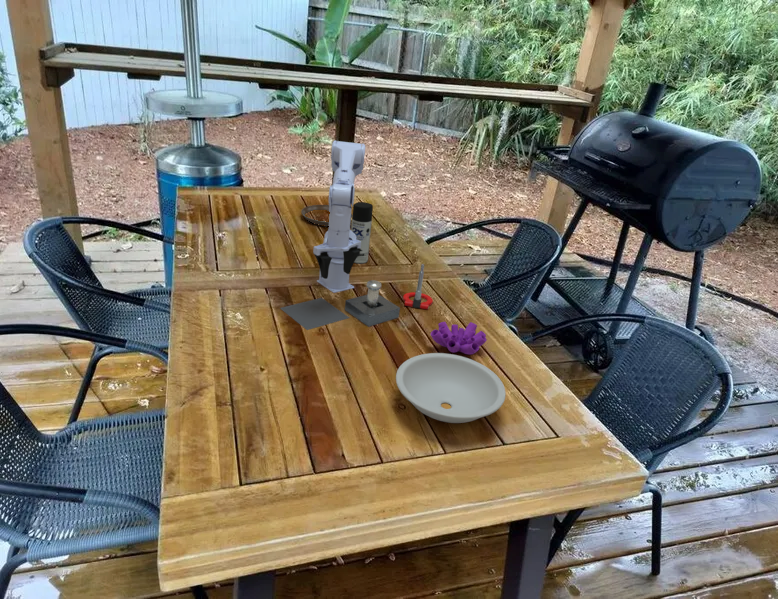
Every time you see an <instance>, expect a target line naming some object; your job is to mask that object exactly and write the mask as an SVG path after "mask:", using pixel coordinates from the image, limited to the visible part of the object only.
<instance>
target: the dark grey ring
mask: <svg viewBox="0 0 778 599" xmlns="http://www.w3.org/2000/svg"><path fill="white" fill-rule="evenodd" d="M313 210H327V211H329V204H314V205H313V204H312V205H309V206H305V207H303V208H302V209H301V215H302V216H303V218H304V219H305V220H306V221H307V220H308V221H307V222H309V221H310V222H312V223H315V224H319V225H325V226H324V227H327V226H329V222H325V221H318V220H314V219H311V218H308V217H306V216H305V214H306V213H308V212H310V211H313ZM352 216H353V212H351V219H352ZM310 222H309V223H310ZM312 223H311V224H312ZM315 224H314V225H315ZM319 225H318V226H319Z"/></svg>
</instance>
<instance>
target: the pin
mask: <svg viewBox="0 0 778 599" xmlns="http://www.w3.org/2000/svg"><path fill="white" fill-rule="evenodd" d="M366 288H367V295H368V296H367V305H366V306H368V307H369V308H371V309H373V308H377V303H378V294H379V293H380V290H381V288H382V283H381V282H380V281H378V280H374V279H373V280H371V279H369V280H368V281H366ZM379 295H380V294H379Z"/></svg>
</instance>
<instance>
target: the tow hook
mask: <svg viewBox="0 0 778 599" xmlns="http://www.w3.org/2000/svg"><path fill="white" fill-rule="evenodd" d="M424 269H425V264H424V263H421V265H420V270H419V273H418V279H417V286H416V290H415V291H411V292H406V293H404V294H403V297H402V300H403V301H404V307H411V308H412V309H413V308H414V309H419V310H420V309H422V310H429V307H430V306H431V305H432V304H433V302H434V299H433V298H432V297H431V296H430V295H428V294H426V293H423V292H422V286H423V281H424V275H425V274H424V273H425V270H424ZM412 297H413V300H412V299H410V298H412ZM422 299H424V300H426V301H423V302H422Z"/></svg>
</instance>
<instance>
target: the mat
mask: <svg viewBox="0 0 778 599" xmlns="http://www.w3.org/2000/svg"><path fill="white" fill-rule="evenodd" d="M279 309H280V310H281V311H283V312H284V313H285V314H286V315H288V316H289V317H290V318H291V319H292V320H294V321H295V322H296V323H297V324H299V325H300V326H301V327H303V328H304V329H305V330H306V331H308V330H313V329H316V328H320V327H323V326H327V325H329V324H333V323H337V322H340V321H343V320H347V319H348V320H349V319H350V316H348V315H347V314H345V313H344V312H342V311H341V310H340V309H338V308H337V307H335V306H334V305H332V304H331V303H330V302H329V301H327V300H326V299H325V298H324V297H320V298H315V299H310V300H307V301H303V302H299V303H295V304H291V305H286V306H282V307H280V308H279Z"/></svg>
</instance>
